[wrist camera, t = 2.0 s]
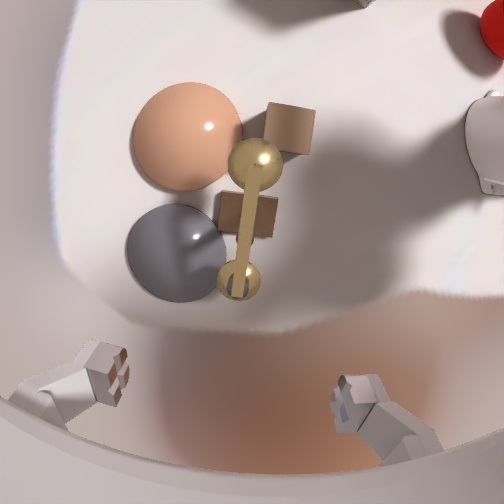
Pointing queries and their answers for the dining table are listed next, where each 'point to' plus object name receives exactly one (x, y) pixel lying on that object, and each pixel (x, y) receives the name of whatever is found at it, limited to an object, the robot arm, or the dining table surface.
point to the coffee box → (365, 2)
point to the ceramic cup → (494, 27)
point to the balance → (248, 212)
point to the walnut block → (289, 127)
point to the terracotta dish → (186, 136)
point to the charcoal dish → (176, 253)
